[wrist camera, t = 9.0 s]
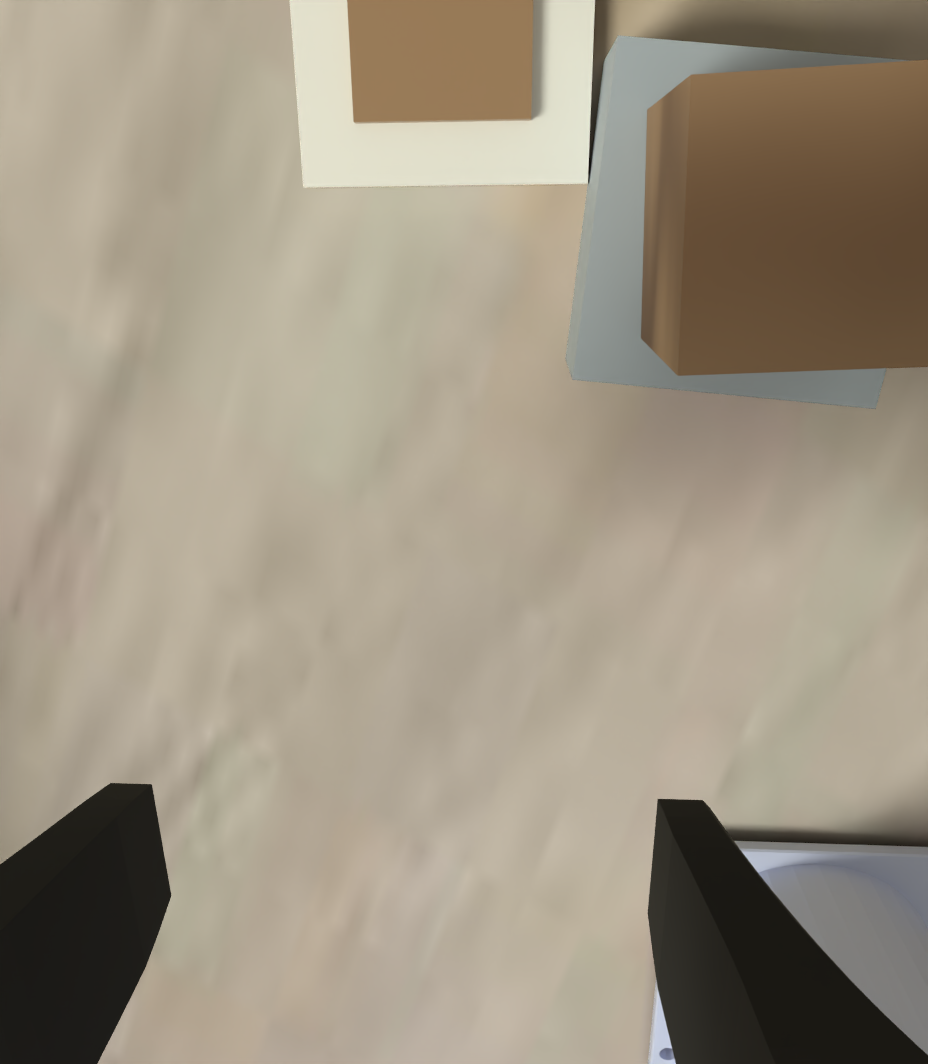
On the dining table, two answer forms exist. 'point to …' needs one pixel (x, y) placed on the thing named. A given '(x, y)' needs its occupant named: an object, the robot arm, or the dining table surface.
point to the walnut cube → (788, 220)
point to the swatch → (443, 91)
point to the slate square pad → (618, 229)
